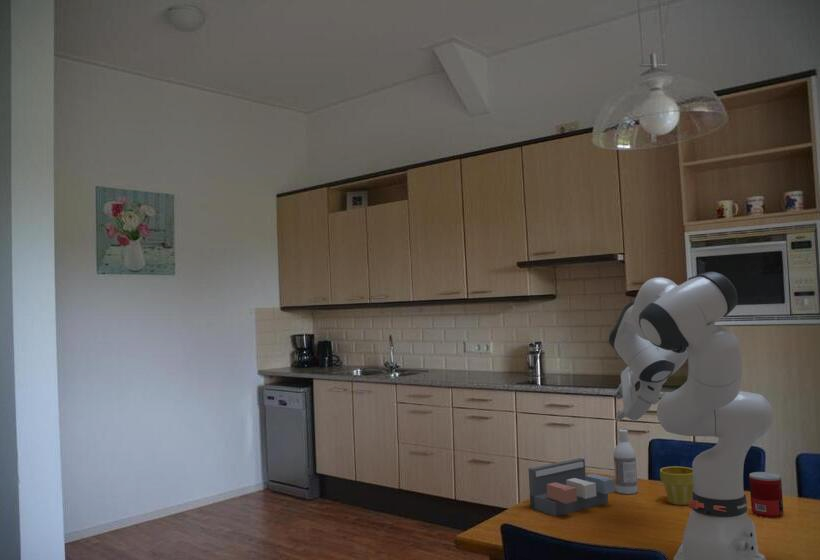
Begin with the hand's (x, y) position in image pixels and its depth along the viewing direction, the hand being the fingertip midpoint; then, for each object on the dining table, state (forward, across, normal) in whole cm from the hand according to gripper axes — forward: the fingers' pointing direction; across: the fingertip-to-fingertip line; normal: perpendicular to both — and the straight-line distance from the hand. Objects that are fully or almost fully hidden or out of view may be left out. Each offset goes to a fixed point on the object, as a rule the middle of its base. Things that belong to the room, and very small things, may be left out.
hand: (617, 406), depth 198 cm
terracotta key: (+25, +21, -3) cm, 32 cm away
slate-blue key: (+23, +11, +10) cm, 27 cm away
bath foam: (+28, 0, +24) cm, 36 cm away
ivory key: (+24, +16, +3) cm, 29 cm away
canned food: (-3, +16, +47) cm, 50 cm away
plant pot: (+14, +8, +32) cm, 36 cm away
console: (+31, +15, +4) cm, 35 cm away
